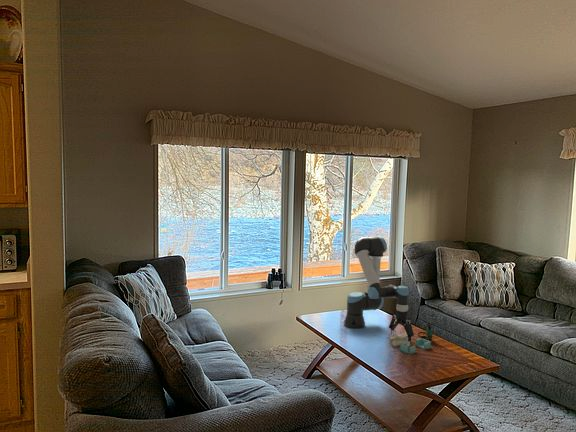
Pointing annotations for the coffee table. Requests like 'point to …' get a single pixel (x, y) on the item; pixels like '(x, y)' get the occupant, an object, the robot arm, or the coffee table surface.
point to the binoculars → (429, 334)
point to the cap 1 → (407, 349)
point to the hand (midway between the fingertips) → (400, 342)
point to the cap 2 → (423, 343)
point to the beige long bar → (398, 339)
